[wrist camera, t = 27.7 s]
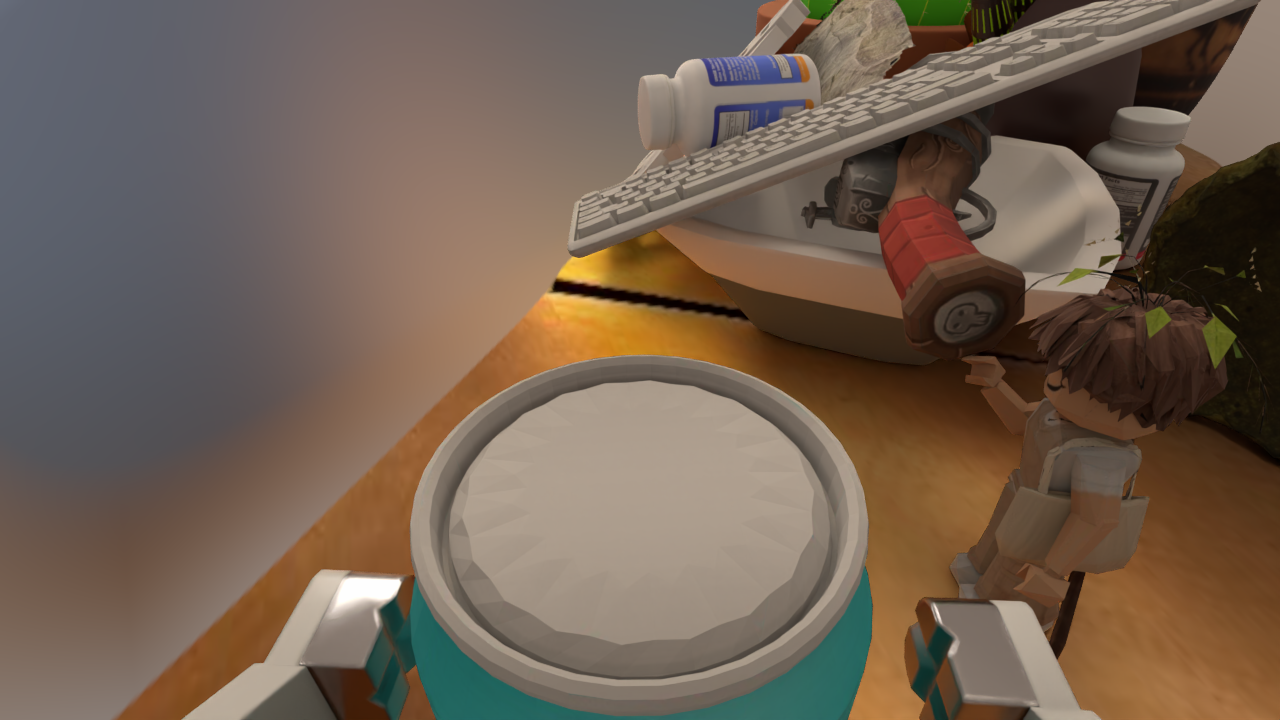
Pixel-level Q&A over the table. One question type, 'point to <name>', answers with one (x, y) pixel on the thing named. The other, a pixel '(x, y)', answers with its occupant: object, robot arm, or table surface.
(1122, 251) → the pill bottle
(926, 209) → the toy gun
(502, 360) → the table surface
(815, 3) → the potted cactus
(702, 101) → the pill bottle
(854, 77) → the stone fragment
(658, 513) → the beverage can
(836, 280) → the bowl
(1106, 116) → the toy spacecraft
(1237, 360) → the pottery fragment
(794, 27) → the emblem
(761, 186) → the keyboard
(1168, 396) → the toy
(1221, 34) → the vase
